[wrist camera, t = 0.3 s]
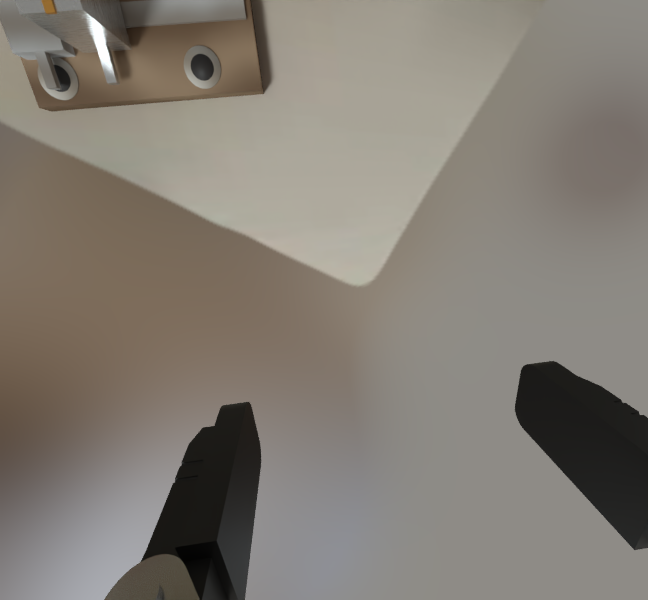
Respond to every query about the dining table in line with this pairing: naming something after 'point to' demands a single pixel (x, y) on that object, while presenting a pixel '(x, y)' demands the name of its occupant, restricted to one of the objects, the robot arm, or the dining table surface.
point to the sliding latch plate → (145, 56)
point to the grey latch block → (83, 26)
